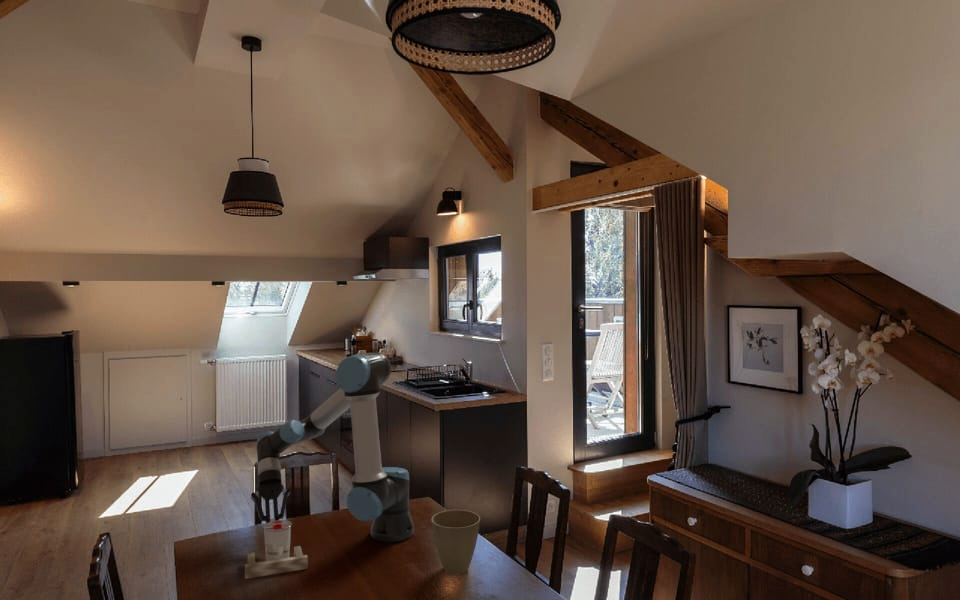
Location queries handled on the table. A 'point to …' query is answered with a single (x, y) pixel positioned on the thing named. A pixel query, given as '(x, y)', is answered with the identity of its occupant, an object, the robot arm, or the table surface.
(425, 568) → the table surface
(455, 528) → the plant pot
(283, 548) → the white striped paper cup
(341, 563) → the table surface
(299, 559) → the cream wooden u-shaped piece
